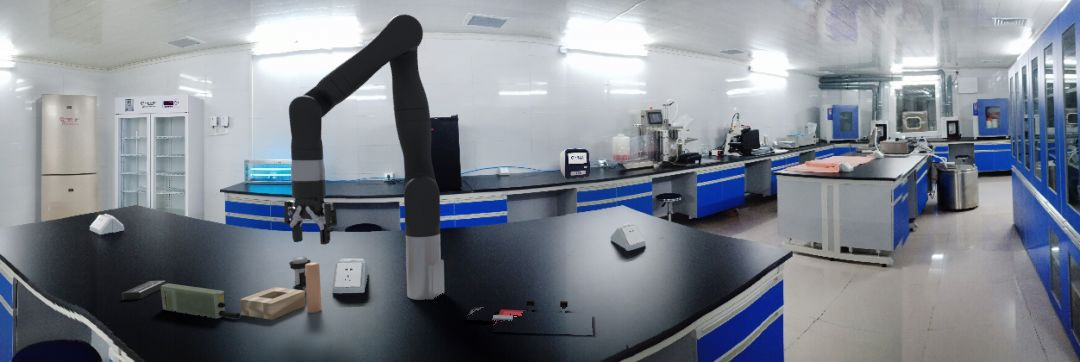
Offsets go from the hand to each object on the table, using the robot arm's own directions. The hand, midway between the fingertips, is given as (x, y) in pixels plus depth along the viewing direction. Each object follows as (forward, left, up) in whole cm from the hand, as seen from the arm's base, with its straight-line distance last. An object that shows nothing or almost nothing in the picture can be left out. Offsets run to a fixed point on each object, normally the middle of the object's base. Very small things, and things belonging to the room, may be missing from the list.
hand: (311, 242), depth 115 cm
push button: (+14, -9, -18) cm, 24 cm away
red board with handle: (-54, -11, -18) cm, 58 cm away
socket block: (+10, +3, -18) cm, 20 cm away
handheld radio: (+25, +10, -18) cm, 33 cm away
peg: (0, 0, -18) cm, 18 cm away
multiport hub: (+56, +4, -18) cm, 59 cm away
